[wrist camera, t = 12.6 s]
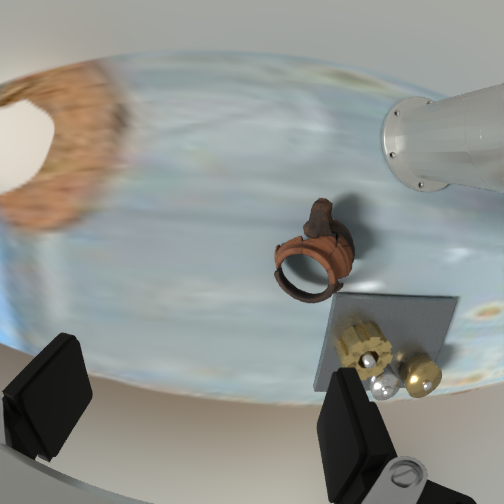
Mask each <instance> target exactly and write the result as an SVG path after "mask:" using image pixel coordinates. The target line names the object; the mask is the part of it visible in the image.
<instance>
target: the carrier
mask: <svg viewBox="0 0 504 504" xmlns="http://www.w3.org/2000/svg"><path fill="white" fill-rule="evenodd" d="M456 302H457V301H455V300H454V299H453V298H447V297H415V296H390V295H369V294H350V293H334V295H333V300H332V305H331V310H330V315H329V320H328V325H327V329H326V334H325V339H324V343H323V347H322V352H321V356H320V360H319V364H318V369H317V373H316V377H315V381H314V384H313V387H314V391H315V392H327V390H328V386H329V383H330V379H331V376H332V373H333V372H334V371H337V370H338V368H340V367H342V365H341V362H340V360H339V357H338V355H339V354H338V351H337V348H336V347H337V343H338V339H342V336H343V335H345V333H344V331H345V330H347V329H348V328H349V327H351V326H353V327H356V326H357V325H361V323H362V322H371V323H372V325H373V326H374V327H375V328H376V327H377V326H379V328H380V329H381V330H382V332H383V333H384V335H385V336H386V338H387V339H388V341H389V342H390V344H391V345H392V348H391V349H390V351H391V352H392V354H393V357H392V360H391V362H390V363H387V365H386V367H385V368H383V370H384V371H383V372H382V373H380V374H379V375H378V376H376V377H375V375H373V376H372V377H367V380H361V382H362V384H363V386H364V389H365V390H371V392H372V395H373V397H374V398H375V399H376V400H386V399H389V398H391V397H392V396H394V395H395V394H396V393H397V392H398V390H399V388H406V389H407V391H408V393H409V394H410V396H412V397H414V398H420V397H424V396H426V395H428V394H429V393H431V392H432V391H433V390H434V389H435V388H436V387H437V386H438V385H439V383H440V381H441V378H442V372H441V370H440V369H439V367H438V366H437V365H436V363H435V360H436V358H437V355H438V353H439V350H440V348H441V345H442V343H443V340H444V337H445V334H446V332H447V329H448V326H449V323H450V320H451V317H452V314H453V311H454V308H455V305H456ZM361 358H362V360H363V362H364V364H365V367H366V368H368V369H370V368H373V367H374V366H375V363H376V362H375V360H374V358H373V356H372V355H371V353H370V351H367V352H365V353H364V354H363V355H361Z"/></svg>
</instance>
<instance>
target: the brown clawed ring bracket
mask: <svg viewBox="0 0 504 504" xmlns="http://www.w3.org/2000/svg"><path fill="white" fill-rule="evenodd" d="M331 212H332V203H331V202H330V201H328V200H327V199H325V198H319V199H318V200H317V201H315V202H314V204H313V206H312V209H311V213H310V217H309V221H308V222H306V224H305V225H304V226H303V229H304V234H305V235H306V236H307V237H310V239H307V240H305V241H304V240H303V238H302V236H298V237H296V238H293V239H292V240H289V241H288V242H286V243H285V244H284V245H282V246H281V247H280V245H278V246H276V250H275V263H276V268H277V270H276V271H275V273H274V276H275V278H276V280H277V282H278V284H279V286H280V287H281V288H282V289H283V290H284V291H285V292H286V293H287V294H289V295H290V296H291V297H293V298H294V299H297V300H299V301H301V302H306V303H318V302H321V301H324V300H326V299H328V298H329V297H331V295H332V294H333V293H335V292H337V291H339V290H340V289H341V288H342V287H343V283H341V284H340V283H339V282H338V281H337V279H341V278H343V277H346V276H348V275H349V273H350V271H351V270H352V263H353V261H354V256H355V248H354V245H353V240H352V237H351V234H350V233H349V231H348V230H347V228H346V227H345V226H344V225H343V224H341V223H340V222H338V221H336V220H333V218H332V215H331ZM332 233H335V234H336V239H335V237H334V236H332ZM293 254H304V255H308V256H310V257H312V258H314V259H315V260H317V261H318V262H319V263H320V264H321V265H322V266H323V267H324V268H325V270H326V271H327V274H328V277H329V285H328V288H327V289H326V290H325V291H323V292H322V293H318V294H312V293H307V292H305V291H302V290H300V289H298V288H296V287H295V286H294V285H293V284H292V283H290V282H289V281H288V280H287V278H286V277H285V275H284V274H283V271H282V267H281V263H282V262H283V261H284V259H285V258H286V257H288V256H290V255H293Z"/></svg>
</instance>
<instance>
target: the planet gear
mask: <svg viewBox="0 0 504 504" xmlns="http://www.w3.org/2000/svg"><path fill="white" fill-rule="evenodd" d="M344 333H345V335H343V336H342V339H338V343H337V347H336V348H337V351H338V354H339V355H338V357H339V360H340V362H341V365H342V367H355V368H356V370H357V372H358V374H359V377H360V379H361V380H367V377H372V376H373V375H375V377H376V376H378V375H379V374H380V373H382V372H383V371H384V370H383V368H385V367H386V365H387V363H390V362H391V360H392V357H393V354H392V352H391V351H390V349H391V348H392V345H391V344H390V342H389V341H388V339H387V338H386V336H385V335H384V333H383V332H382V330H381V329H380V328H379V326H377V327H376V328H375V327H374V326H373V325H372V323H371V322H362V323H361V325H357V326H356V327H353V326H351V327H349V328H348V329H347V330H345V331H344ZM367 351H370V353H371V355H372V356H373V358H374V360H375V362H376V363H375V366H374V367H373V368H370V369H368V368H366V367H365V364H364V362H363V360H362V358H361V355H363V354H364V353H365V352H367Z"/></svg>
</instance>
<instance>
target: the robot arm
mask: <svg viewBox="0 0 504 504" xmlns="http://www.w3.org/2000/svg"><path fill="white" fill-rule="evenodd" d="M394 113H396V116H395V114H394ZM381 141H382V149H383V153H384V156H385V159H386V161H387V164H388V166H389V168H390V169H391V171H392V172H393V174H394V175H395V176H396V177H397V178H398V179H399V180H400V181H401V182H402V183H403V184H405V185H406V186H408V187H410V188H412V189H414V190H418V191H422V192H433V191H438V190H440V189H443V188H444V187H445V186H447V185H448V184H449V183H450V184H456V185H462V186H468V187H474V188H479V189H485V190H490V191H495V192H501V193H504V83H502V84H499V85H495V86H491V87H488V88H484V89H480V90H476V91H472V92H469V93H465V94H462V95H458V96H454V97H451V98H447V99H444V100H441V101H437V102H434V101H432V100H430V99H427V98H424V97H410V98H407V99H404V100H402V101H400V102H398V103H397V104H395V105H394V106H393V107H392V108H391V109H390V111H389V112H388V114H387V115H386V118H385V120H384V123H383V127H382V137H381ZM390 154H391V157H390ZM418 184H419V186H418ZM2 392H3V394H4V397H3V398H1V397H0V504H153V503H148V502H144V501H141V500H137V499H133V498H129V497H126V496H123V495H119V494H116V493H113V492H110V491H107V490H104V489H101V488H98V487H96V486H93V485H90V484H87V483H85V482H82V481H79V480H77V479H75V478H72V477H70V476H67V475H65V474H63V473H60V472H58V471H56V470H54V469H51V468H49V467H47V466H45V465H43V464H41V463H39V462H37V461H35V458H36V456H37V455H38V457H40V458H41V459H43V460H46V461H48V462H50V461H51V459H52V458H53V457H56V456H57V455H58V453H59V451H60V450H61V448H62V446H63V444H64V443H65V441H66V440H67V438H68V436H69V435H70V433H71V431H72V429H73V428H74V427H75V425H76V423H77V422H78V420H79V418H80V417H81V415H82V414H83V412H84V411H85V409H86V408H87V406H88V404H89V403H90V401H91V399H92V395H93V394H92V389H91V385H90V382H89V378H88V375H87V371H86V367H85V363H84V359H83V355H82V351H81V346H80V343H79V341H78V340H77V339H76V337H75V336H74V335H70V334H66V333H60V334H59V335H58V336H57V337H55V338H54V339H53V340H52V341H51V342H50V343H49V344H48V345H47V346H46V347H45V348H44V349H43V350H42V351H41V352H40V353H39V354H38V355H37V356H36V357H35V358H34V359H33V360H32V361H31V362H30V363H29V364H28V365H27V366H26V367H25V368H24V369H23V370H22V371H21V372H20V373H19V374H18V375H17V376H16V377H15V379H14V380H13V381H12V382H11V383H10V384H9V385H8V386H7V387H6V388H5V389H4V390H3V391H2ZM317 434H318V440H319V445H320V451H321V457H322V463H323V468H324V475H325V481H326V487H327V493H328V499H329V502H330V503H334V504H476V502H475V501H474V500H473V499H472V498H471V497H469V496H467V495H464V494H462V493H459V492H456V491H454V490H451V489H449V488H446V487H444V486H441V485H439V484H437V483H434V482H432V481H430V480H427V476H428V475H427V469H426V468H425V466H424V465H423V464H422V463H421V462H420V461H419V460H417V459H415V458H412V457H409V456H401V457H398V456H397V454H396V451H395V449H394V446H393V444H392V441H391V438H390V436H389V434H388V431H387V429H386V426H385V424H384V421H383V419H382V416H381V414H380V412H379V409H378V407H377V405H376V403H375V402H370V401H369V399H368V396H367V394H366V391H365V389H364V386H363V384H362V382H361V379H360V377H359V374H358V372H357V370H356V368H355V367H340V368H338V370H337V371H334V372H333V373H332V376H331V379H330V383H329V386H328V390H327V393H326V396H325V400H324V403H323V406H322V409H321V412H320V415H319V419H318V422H317Z"/></svg>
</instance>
